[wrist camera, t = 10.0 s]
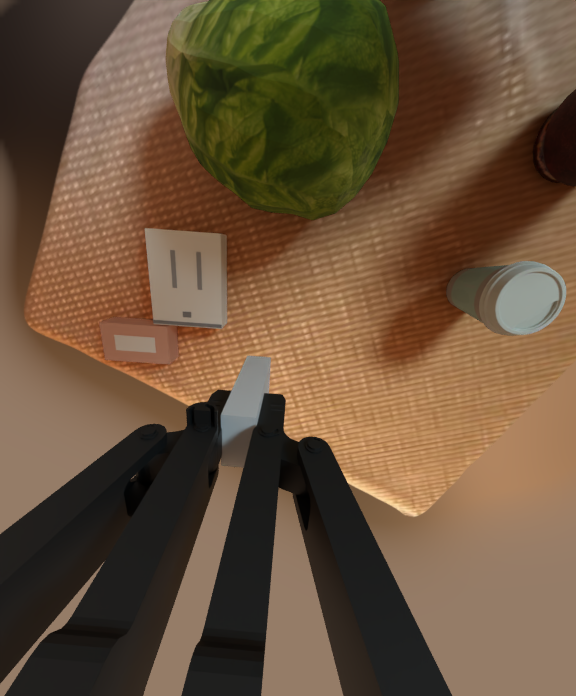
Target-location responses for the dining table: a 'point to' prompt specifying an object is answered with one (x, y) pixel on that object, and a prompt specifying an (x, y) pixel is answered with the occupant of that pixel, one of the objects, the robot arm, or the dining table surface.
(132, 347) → the stub
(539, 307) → the coffee cup
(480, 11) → the dining table surface
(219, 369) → the dining table surface
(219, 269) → the two-slot toaster
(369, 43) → the lettuce
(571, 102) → the vase
